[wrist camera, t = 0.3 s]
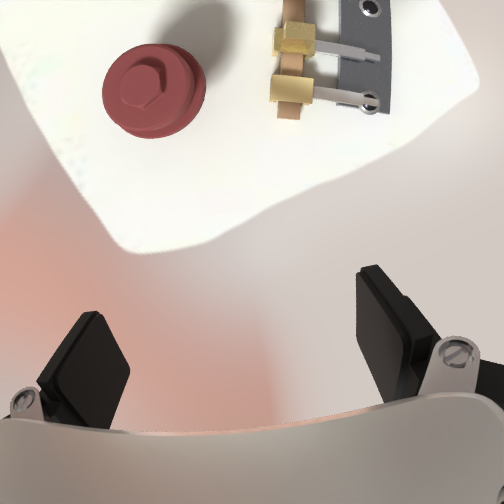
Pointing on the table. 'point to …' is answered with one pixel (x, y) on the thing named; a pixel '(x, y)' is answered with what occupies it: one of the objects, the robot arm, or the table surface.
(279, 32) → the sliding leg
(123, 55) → the mechanical component
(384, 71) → the hole plate
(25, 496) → the robot arm
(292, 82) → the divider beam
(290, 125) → the table surface
